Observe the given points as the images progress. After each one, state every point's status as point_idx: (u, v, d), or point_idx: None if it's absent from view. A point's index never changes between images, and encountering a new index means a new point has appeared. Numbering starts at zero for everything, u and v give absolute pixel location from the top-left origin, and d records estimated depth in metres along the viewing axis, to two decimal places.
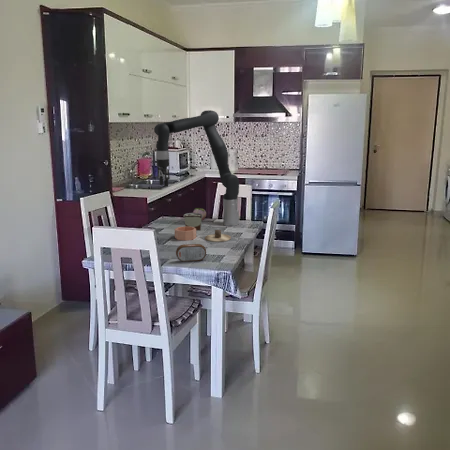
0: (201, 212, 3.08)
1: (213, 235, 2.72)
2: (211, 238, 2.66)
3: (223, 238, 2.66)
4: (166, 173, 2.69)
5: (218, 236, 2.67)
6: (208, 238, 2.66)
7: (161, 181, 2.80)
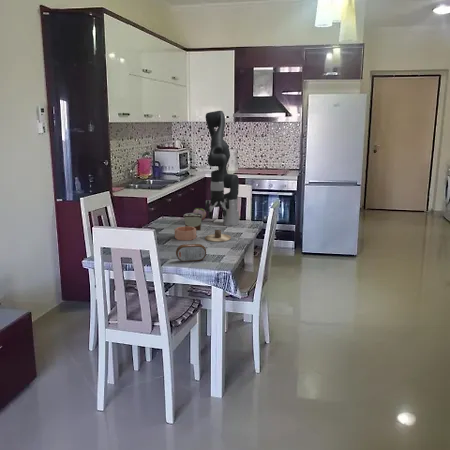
0: (201, 212, 3.08)
1: (213, 235, 2.72)
2: (211, 238, 2.66)
3: (223, 238, 2.66)
4: None
5: (218, 236, 2.67)
6: (208, 238, 2.66)
7: None
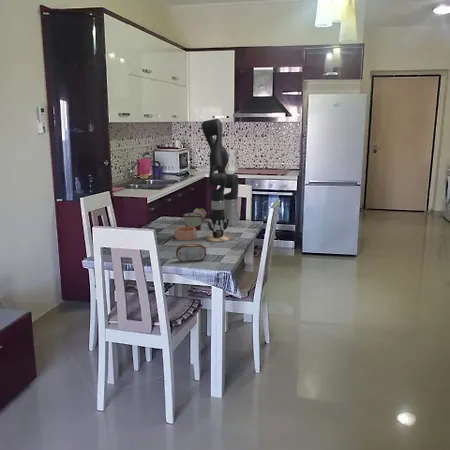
0: (201, 212, 3.08)
1: None
2: (211, 238, 2.66)
3: (223, 238, 2.66)
4: None
5: (218, 236, 2.67)
6: (208, 238, 2.66)
7: None
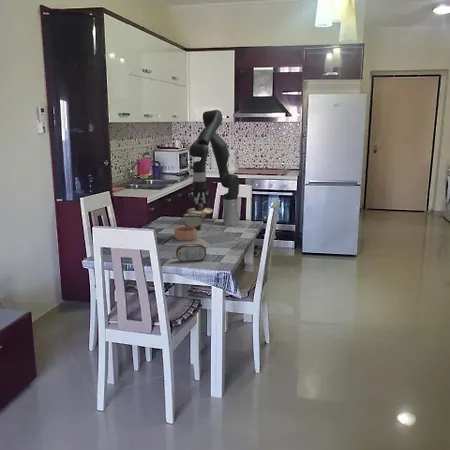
0: None
1: None
2: (193, 211, 2.63)
3: (205, 211, 2.63)
4: None
5: (200, 209, 2.64)
6: (190, 211, 2.63)
7: None
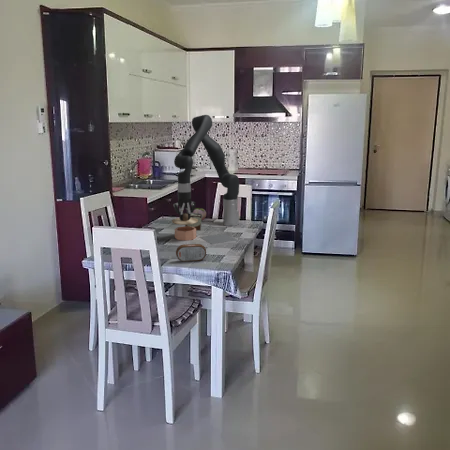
0: (201, 212, 3.08)
1: None
2: (178, 221, 2.66)
3: (190, 221, 2.66)
4: None
5: (185, 219, 2.67)
6: (175, 221, 2.66)
7: None
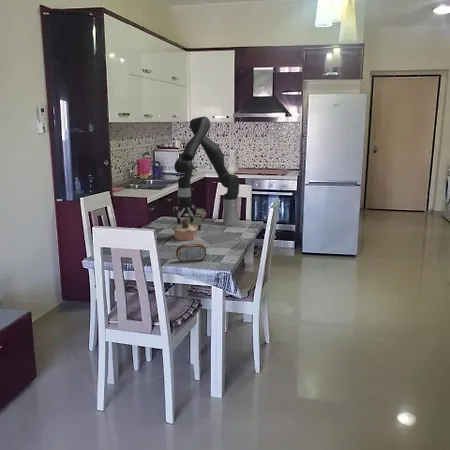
0: (201, 212, 3.08)
1: (181, 225, 2.73)
2: (178, 228, 2.67)
3: (190, 228, 2.67)
4: None
5: (185, 226, 2.67)
6: (175, 228, 2.67)
7: None
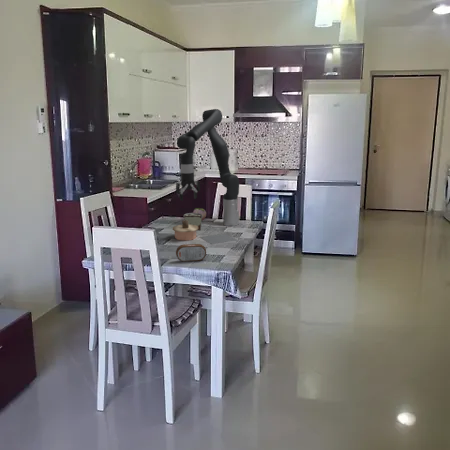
0: (201, 212, 3.08)
1: (181, 225, 2.73)
2: (178, 228, 2.67)
3: (190, 228, 2.67)
4: None
5: (185, 226, 2.67)
6: (175, 228, 2.67)
7: None
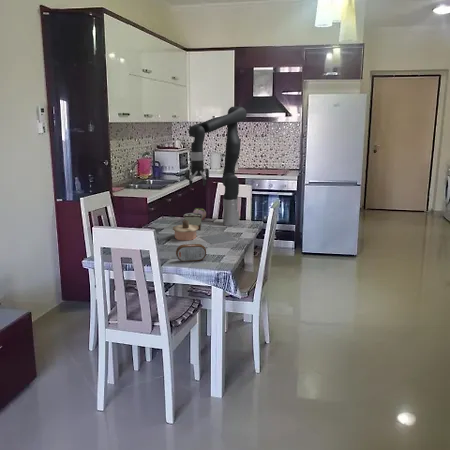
0: (201, 212, 3.08)
1: (181, 225, 2.73)
2: (178, 228, 2.67)
3: (190, 228, 2.67)
4: None
5: (185, 226, 2.67)
6: (175, 228, 2.67)
7: None
